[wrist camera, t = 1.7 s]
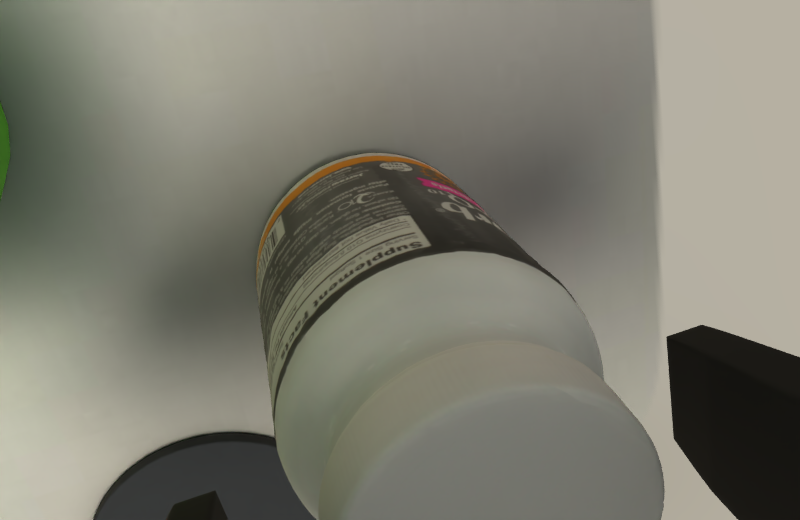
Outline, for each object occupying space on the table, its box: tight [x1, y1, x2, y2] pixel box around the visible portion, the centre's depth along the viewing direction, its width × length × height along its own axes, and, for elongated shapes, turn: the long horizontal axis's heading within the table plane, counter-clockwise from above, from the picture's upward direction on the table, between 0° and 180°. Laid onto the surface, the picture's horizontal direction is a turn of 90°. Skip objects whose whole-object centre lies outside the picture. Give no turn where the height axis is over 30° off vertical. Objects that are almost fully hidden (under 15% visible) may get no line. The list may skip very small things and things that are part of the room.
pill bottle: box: [256, 153, 664, 520], centre depth 14 cm, size 6×6×10 cm
